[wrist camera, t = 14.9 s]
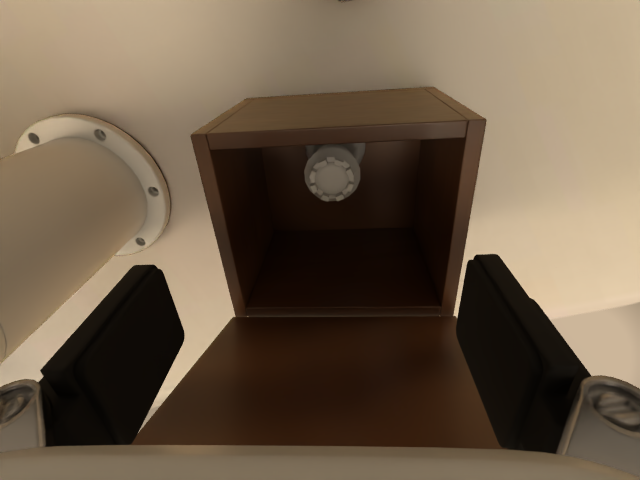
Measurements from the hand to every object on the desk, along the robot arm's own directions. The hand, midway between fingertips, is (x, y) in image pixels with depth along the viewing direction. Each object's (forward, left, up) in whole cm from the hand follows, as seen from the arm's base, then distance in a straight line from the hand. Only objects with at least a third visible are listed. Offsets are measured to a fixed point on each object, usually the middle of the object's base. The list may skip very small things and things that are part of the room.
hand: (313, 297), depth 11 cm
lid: (+1, -6, -2) cm, 6 cm away
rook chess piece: (0, 0, -18) cm, 18 cm away
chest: (0, -2, -19) cm, 19 cm away
